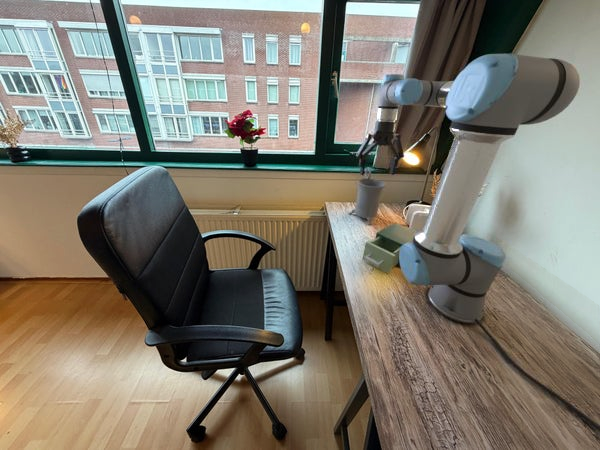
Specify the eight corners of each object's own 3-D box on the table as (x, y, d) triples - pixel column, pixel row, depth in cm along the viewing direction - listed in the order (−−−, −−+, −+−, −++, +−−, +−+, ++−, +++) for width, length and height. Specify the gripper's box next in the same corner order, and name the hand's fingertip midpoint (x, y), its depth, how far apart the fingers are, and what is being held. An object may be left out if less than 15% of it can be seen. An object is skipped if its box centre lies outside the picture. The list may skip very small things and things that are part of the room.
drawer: (382, 278, 86) (387, 260, 82) (355, 263, 93) (359, 245, 89) (405, 259, 97) (411, 243, 93) (380, 247, 104) (384, 231, 100)
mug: (383, 225, 124) (395, 177, 112) (355, 224, 123) (364, 176, 111) (371, 209, 140) (381, 166, 128) (346, 209, 139) (353, 165, 127)
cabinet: (400, 267, 93) (407, 246, 89) (371, 252, 101) (376, 232, 97) (416, 253, 102) (423, 234, 98) (389, 241, 110) (394, 222, 106)
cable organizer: (434, 227, 125) (441, 206, 119) (441, 238, 116) (449, 216, 110) (403, 223, 126) (409, 203, 121) (408, 233, 117) (415, 212, 112)
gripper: (410, 120, 101) (399, 171, 110) (352, 119, 97) (346, 172, 107) (420, 122, 94) (408, 176, 104) (358, 121, 91) (351, 177, 100)
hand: (376, 174), depth 105 cm, fingers open, 13 cm apart
